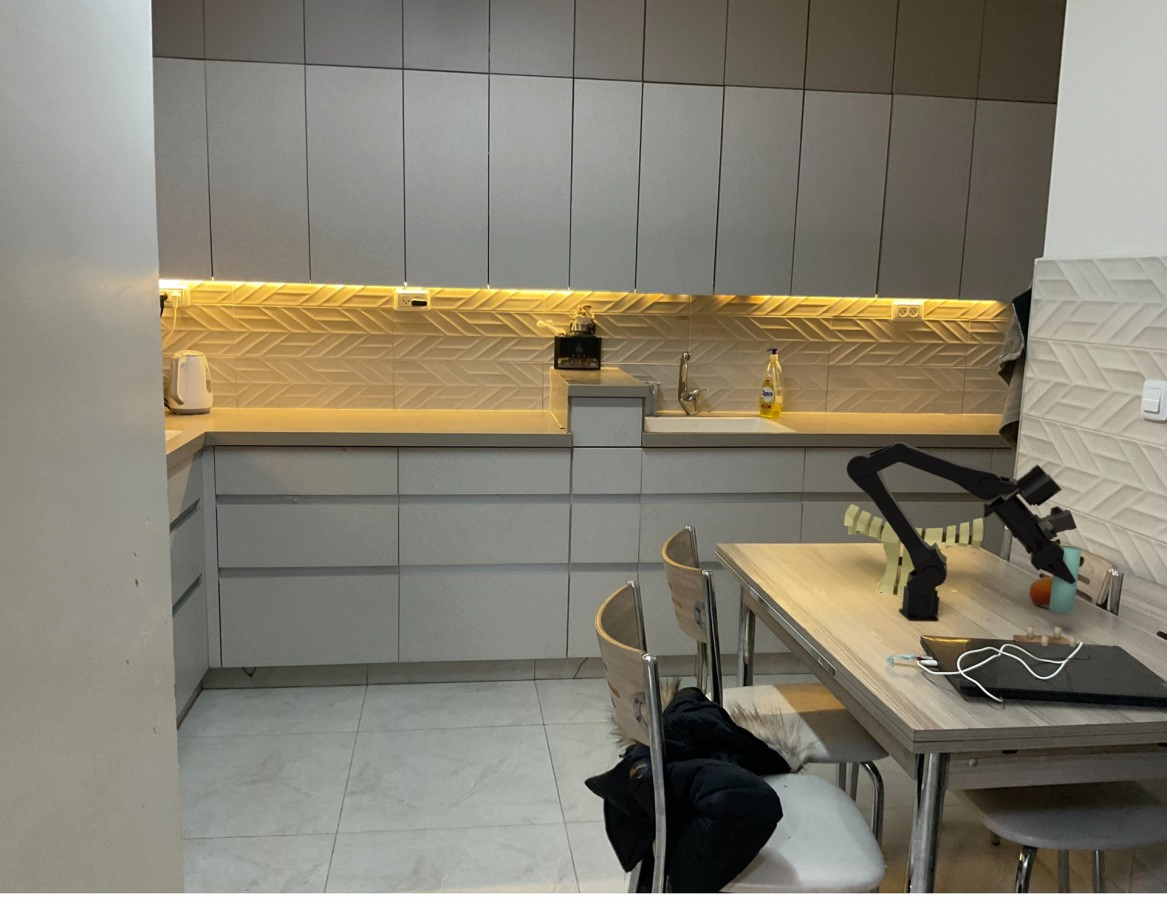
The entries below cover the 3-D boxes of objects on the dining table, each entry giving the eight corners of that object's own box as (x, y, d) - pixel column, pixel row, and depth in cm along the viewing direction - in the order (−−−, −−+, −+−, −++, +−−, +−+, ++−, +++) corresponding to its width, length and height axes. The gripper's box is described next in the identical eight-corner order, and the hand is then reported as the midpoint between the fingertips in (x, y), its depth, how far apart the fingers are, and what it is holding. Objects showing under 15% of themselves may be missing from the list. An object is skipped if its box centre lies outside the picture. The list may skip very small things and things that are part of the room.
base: (1037, 658, 187) (1039, 639, 186) (1012, 640, 197) (1014, 622, 196) (1088, 659, 187) (1090, 641, 187) (1061, 641, 197) (1063, 624, 196)
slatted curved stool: (974, 587, 234) (982, 515, 231) (975, 606, 219) (983, 528, 216) (846, 571, 244) (852, 501, 242) (839, 587, 230) (845, 513, 227)
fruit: (1052, 608, 214) (1042, 573, 217) (1029, 616, 221) (1019, 582, 224) (1082, 607, 216) (1072, 572, 219) (1058, 615, 224) (1048, 581, 226)
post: (1056, 613, 197) (1063, 550, 195) (1045, 606, 201) (1052, 545, 199) (1078, 613, 197) (1085, 551, 195) (1066, 606, 202) (1073, 545, 200)
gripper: (1057, 504, 188) (1114, 567, 186) (1049, 488, 206) (1101, 545, 203) (1008, 538, 192) (1064, 600, 190) (1005, 520, 210) (1055, 577, 207)
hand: (1072, 579), depth 198 cm, fingers closed on post, 4 cm apart
